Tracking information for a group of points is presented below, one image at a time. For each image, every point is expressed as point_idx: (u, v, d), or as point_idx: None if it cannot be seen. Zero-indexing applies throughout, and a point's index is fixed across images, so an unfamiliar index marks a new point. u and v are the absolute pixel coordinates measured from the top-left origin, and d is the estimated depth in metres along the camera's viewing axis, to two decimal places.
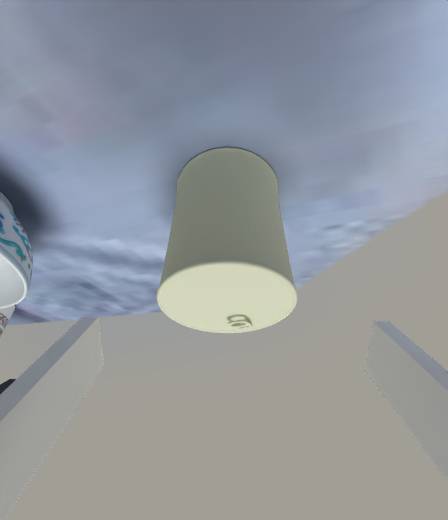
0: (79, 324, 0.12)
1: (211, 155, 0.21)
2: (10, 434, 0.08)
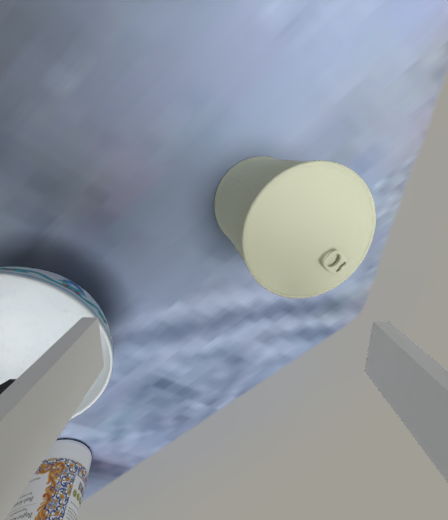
0: (79, 324, 0.12)
1: (233, 169, 0.26)
2: (10, 434, 0.08)
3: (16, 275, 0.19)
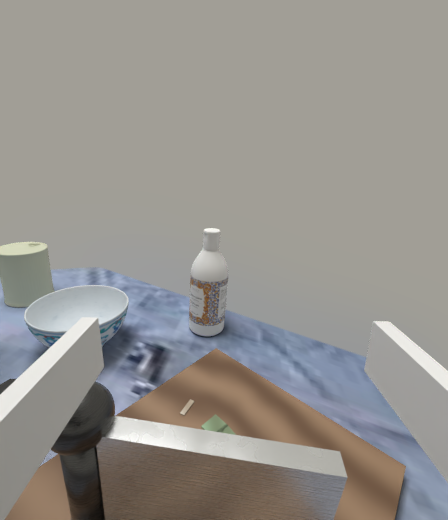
0: (79, 324, 0.12)
1: (8, 302, 0.57)
2: (10, 434, 0.08)
3: (29, 306, 0.44)
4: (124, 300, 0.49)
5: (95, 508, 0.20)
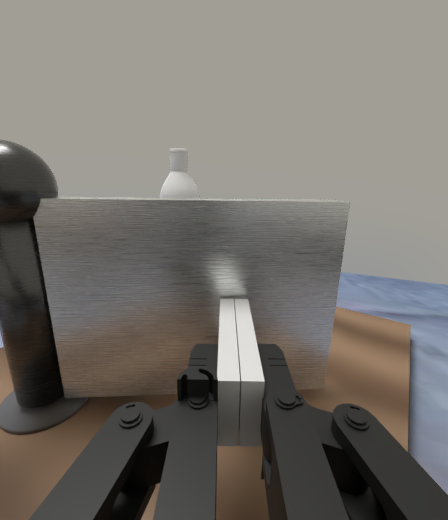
0: (224, 303, 0.14)
1: None
2: None
3: None
4: None
5: (41, 332, 0.15)
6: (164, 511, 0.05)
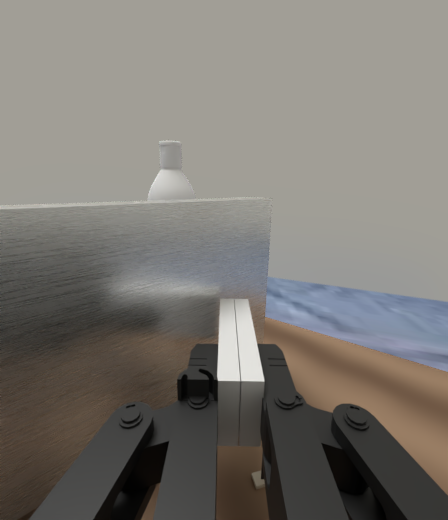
0: (224, 303, 0.14)
1: None
2: None
3: None
4: None
5: None
6: (164, 511, 0.05)
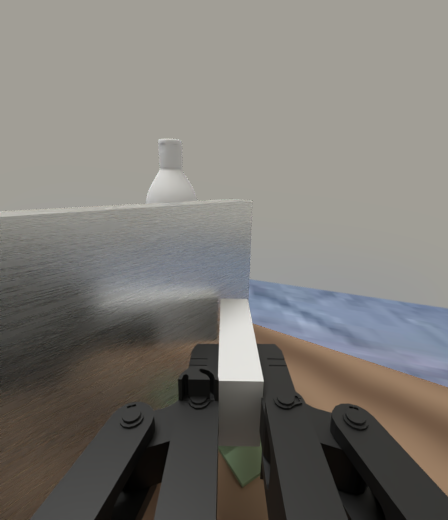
0: (224, 303, 0.14)
1: None
2: None
3: None
4: None
5: None
6: (165, 511, 0.05)
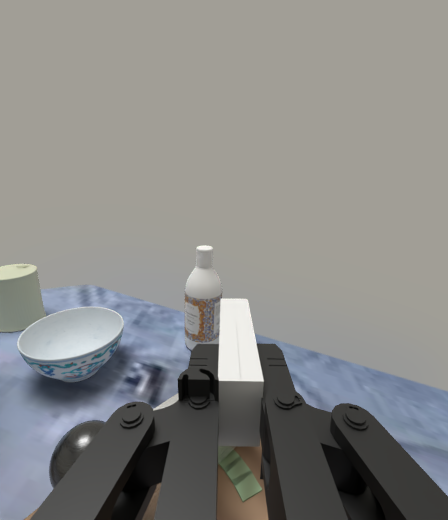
0: (224, 304, 0.14)
1: None
2: None
3: (22, 333, 0.43)
4: (119, 321, 0.49)
5: None
6: (165, 511, 0.05)
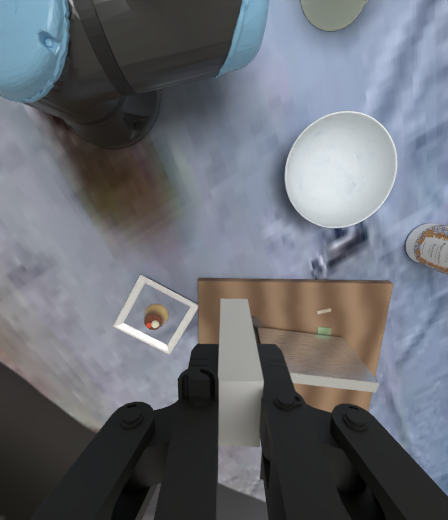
0: (224, 303, 0.14)
1: None
2: None
3: (301, 133, 0.36)
4: (385, 188, 0.38)
5: None
6: (165, 511, 0.05)
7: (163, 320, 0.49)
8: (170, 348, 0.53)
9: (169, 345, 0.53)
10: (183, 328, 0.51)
